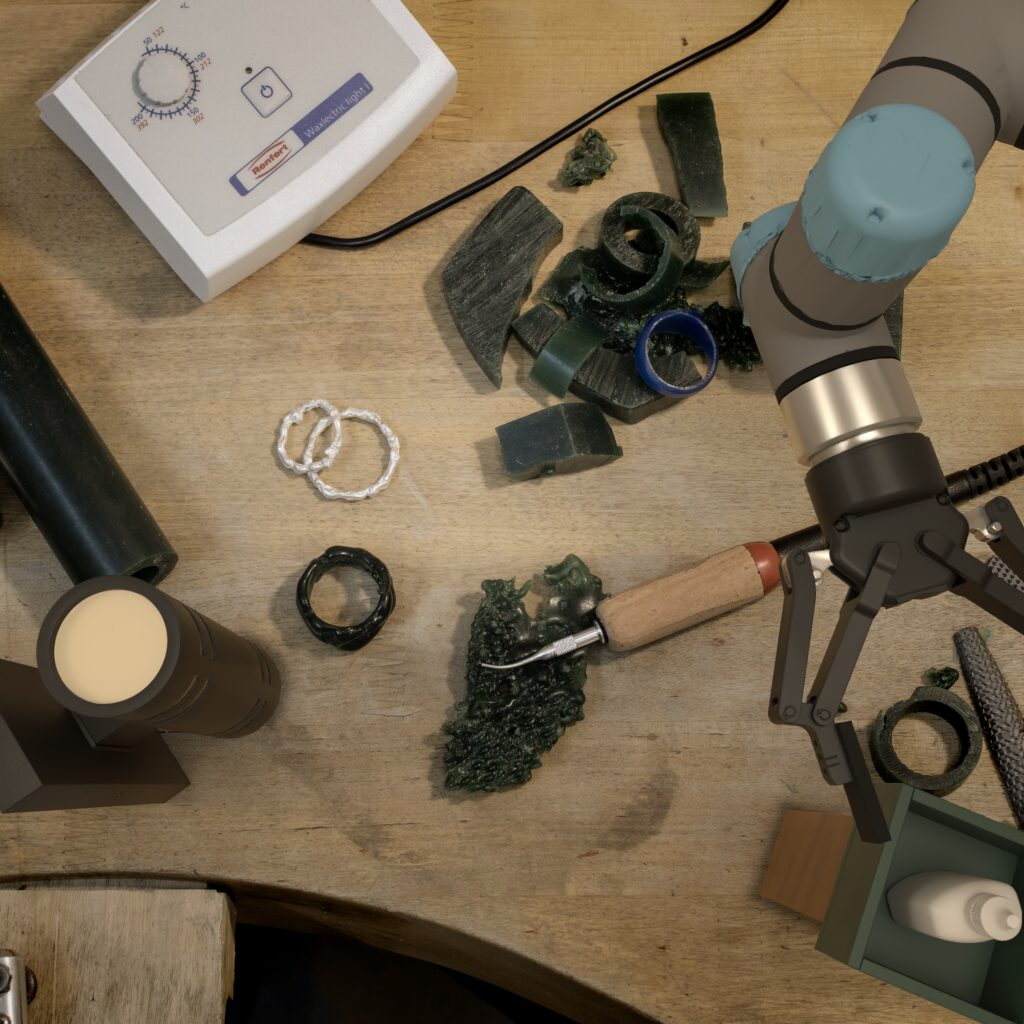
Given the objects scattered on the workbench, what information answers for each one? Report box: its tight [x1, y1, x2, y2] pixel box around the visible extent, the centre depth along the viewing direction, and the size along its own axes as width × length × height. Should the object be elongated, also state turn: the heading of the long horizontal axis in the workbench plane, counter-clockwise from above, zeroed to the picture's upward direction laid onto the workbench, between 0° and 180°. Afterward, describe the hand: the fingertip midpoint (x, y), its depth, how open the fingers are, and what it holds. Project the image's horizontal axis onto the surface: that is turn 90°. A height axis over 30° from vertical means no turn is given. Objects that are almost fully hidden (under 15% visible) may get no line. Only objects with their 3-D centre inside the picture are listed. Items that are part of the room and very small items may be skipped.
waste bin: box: [814, 782, 1024, 1024], centre depth 68 cm, size 12×12×7 cm
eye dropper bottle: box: [887, 871, 1022, 943], centre depth 64 cm, size 4×6×12 cm
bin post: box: [758, 808, 855, 923], centre depth 83 cm, size 8×8×25 cm
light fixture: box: [0, 574, 282, 815], centre depth 82 cm, size 10×15×33 cm
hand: (992, 808), depth 58 cm, fingers open, 13 cm apart
